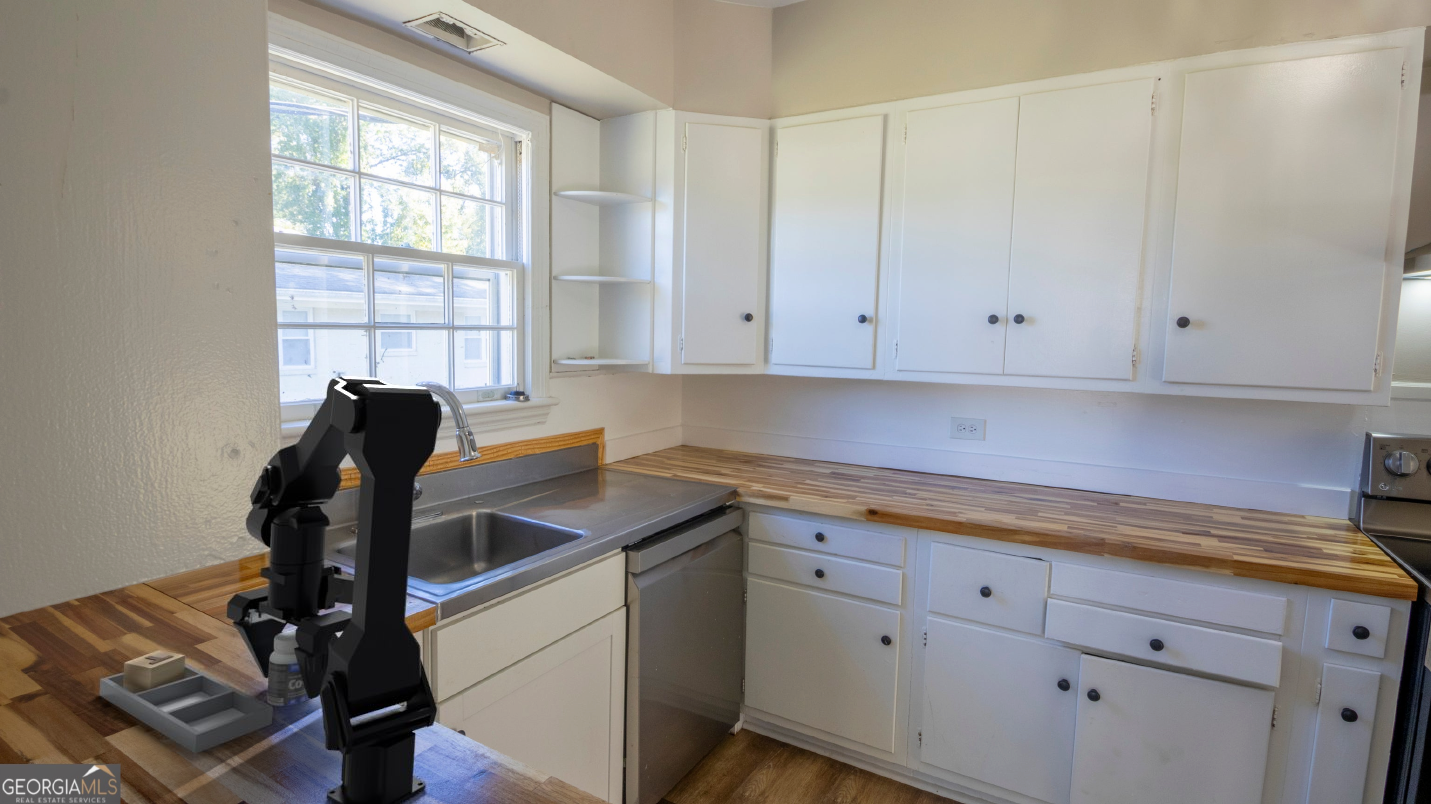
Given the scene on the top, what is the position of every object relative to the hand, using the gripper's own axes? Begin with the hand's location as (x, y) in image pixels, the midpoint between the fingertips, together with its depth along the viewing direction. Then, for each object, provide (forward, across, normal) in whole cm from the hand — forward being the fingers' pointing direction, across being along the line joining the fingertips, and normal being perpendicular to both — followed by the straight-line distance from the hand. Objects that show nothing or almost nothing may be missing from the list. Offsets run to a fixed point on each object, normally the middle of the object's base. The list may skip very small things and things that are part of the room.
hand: (290, 687), depth 83 cm
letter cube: (+1, +13, +8) cm, 16 cm away
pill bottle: (+2, 0, 0) cm, 2 cm away
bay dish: (+2, +6, +8) cm, 11 cm away
